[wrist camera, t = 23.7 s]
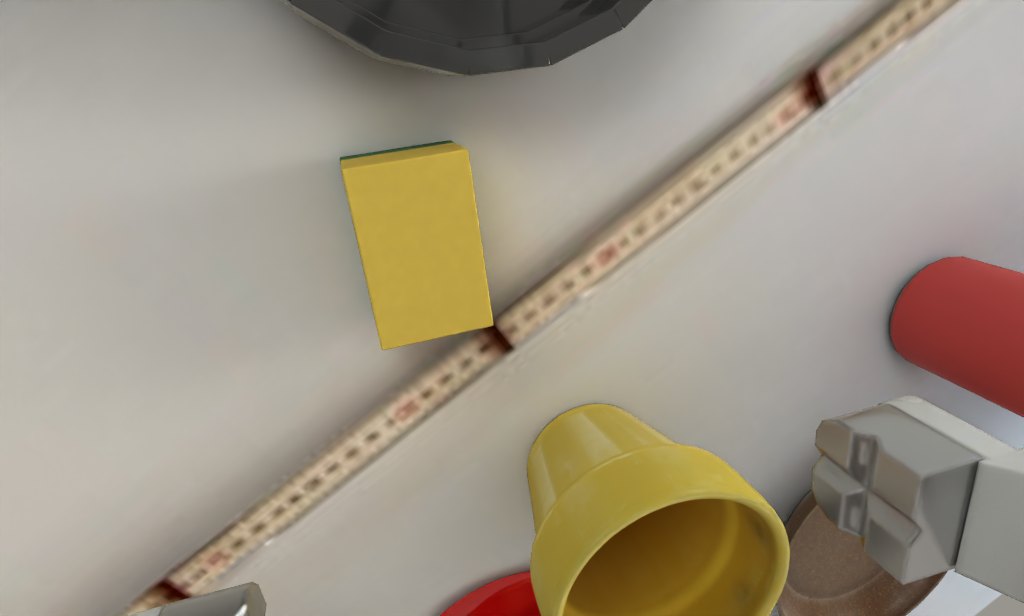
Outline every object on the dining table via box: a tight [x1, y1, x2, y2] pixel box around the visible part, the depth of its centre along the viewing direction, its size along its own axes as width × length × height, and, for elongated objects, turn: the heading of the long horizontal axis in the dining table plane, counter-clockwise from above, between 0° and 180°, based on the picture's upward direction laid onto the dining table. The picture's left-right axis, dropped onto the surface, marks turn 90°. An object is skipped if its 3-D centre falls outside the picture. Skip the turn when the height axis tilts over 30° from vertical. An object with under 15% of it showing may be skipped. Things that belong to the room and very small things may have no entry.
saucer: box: [777, 490, 947, 616], centre depth 39 cm, size 15×15×3 cm
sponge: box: [340, 140, 493, 350], centre depth 24 cm, size 7×4×4 cm, turn 7°
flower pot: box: [527, 404, 790, 616], centre depth 28 cm, size 10×10×10 cm
